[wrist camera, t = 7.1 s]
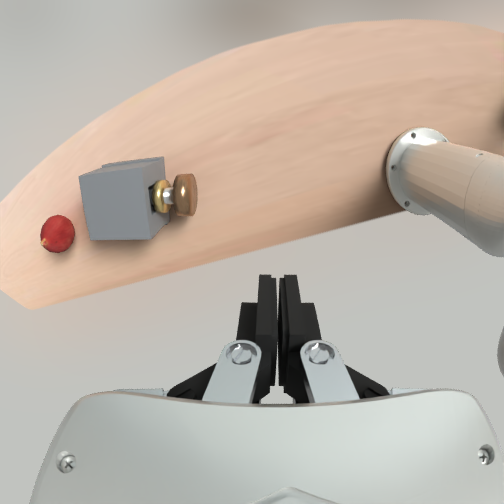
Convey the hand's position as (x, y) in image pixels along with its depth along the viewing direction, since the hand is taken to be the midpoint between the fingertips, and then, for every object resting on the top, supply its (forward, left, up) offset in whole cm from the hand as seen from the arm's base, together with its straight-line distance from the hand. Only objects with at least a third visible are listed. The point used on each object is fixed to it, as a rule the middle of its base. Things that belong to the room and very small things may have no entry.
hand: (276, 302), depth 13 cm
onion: (+32, +5, -25) cm, 41 cm away
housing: (+18, 0, -25) cm, 31 cm away
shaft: (+15, 0, -23) cm, 28 cm away
